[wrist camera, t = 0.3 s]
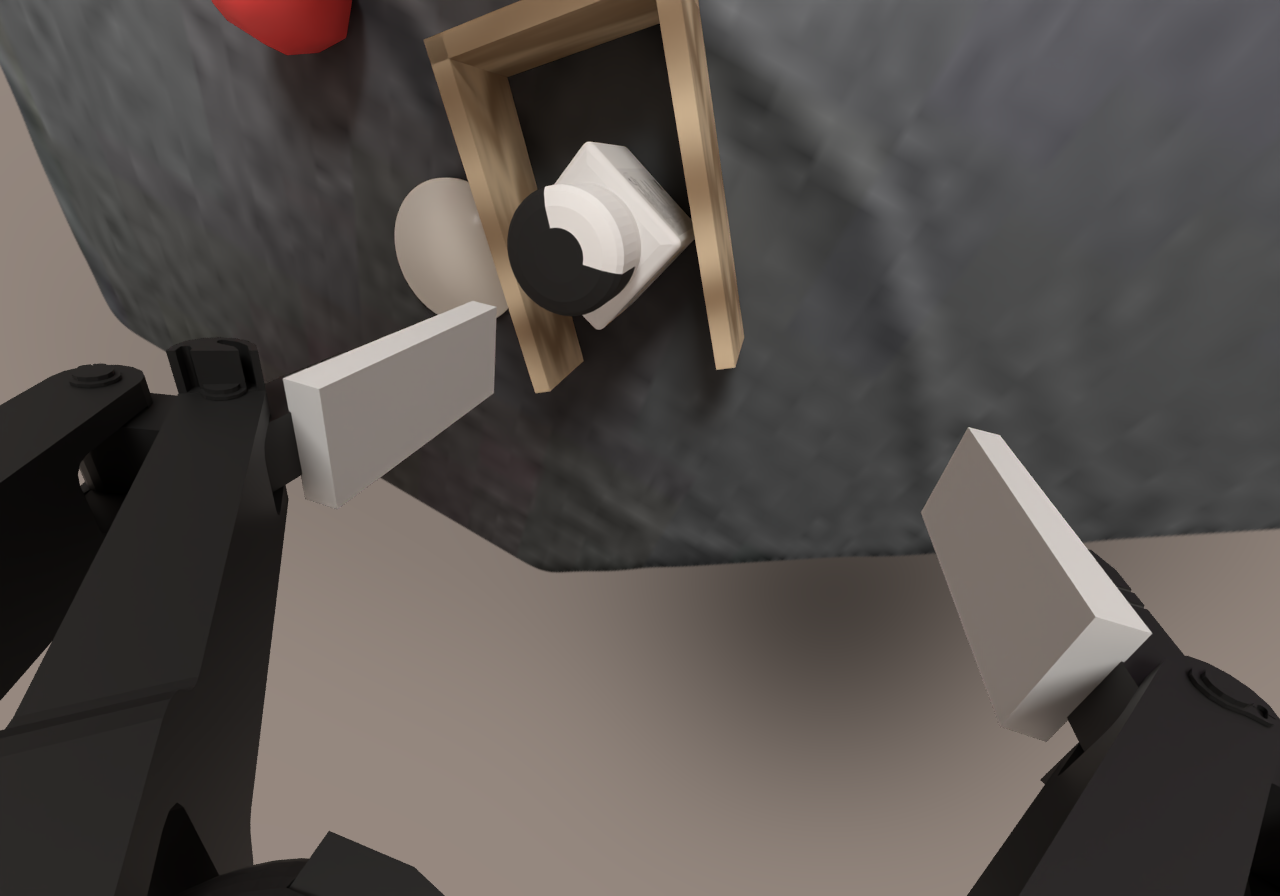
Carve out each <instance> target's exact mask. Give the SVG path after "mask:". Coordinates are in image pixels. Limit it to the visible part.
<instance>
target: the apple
mask: <svg viewBox="0 0 1280 896" xmlns="http://www.w3.org/2000/svg"><path fill="white" fill-rule="evenodd" d="M212 2H213V4H214V5H215V6H216V7H217V9H218V10H219V11H220V12H221V13H222V15H223V16H224V17H225V18H226V20H227V21H229V22H231V23H232V24H234V25H235V26H237V27H238V28H240V29H242V30H243V31H245V32H246V33H248V34H249V35H251V36H253V37H254V38H256V39H257V40H259V41H260V42H262V43H264V44H265V45H267V46H269V47H271V48H273V49H275V50H277V51H279V52H281V53H283V54H285V55H297V54H310V53H319V52H321V51H323V50H325V49H327V48H329V47H330V46H332V45H334V44H336V43H338V42H340V41H342V40H343V39H345V38H346V37H347V31H348V24H349V18H350V11H351V5H352V0H212Z"/></svg>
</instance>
